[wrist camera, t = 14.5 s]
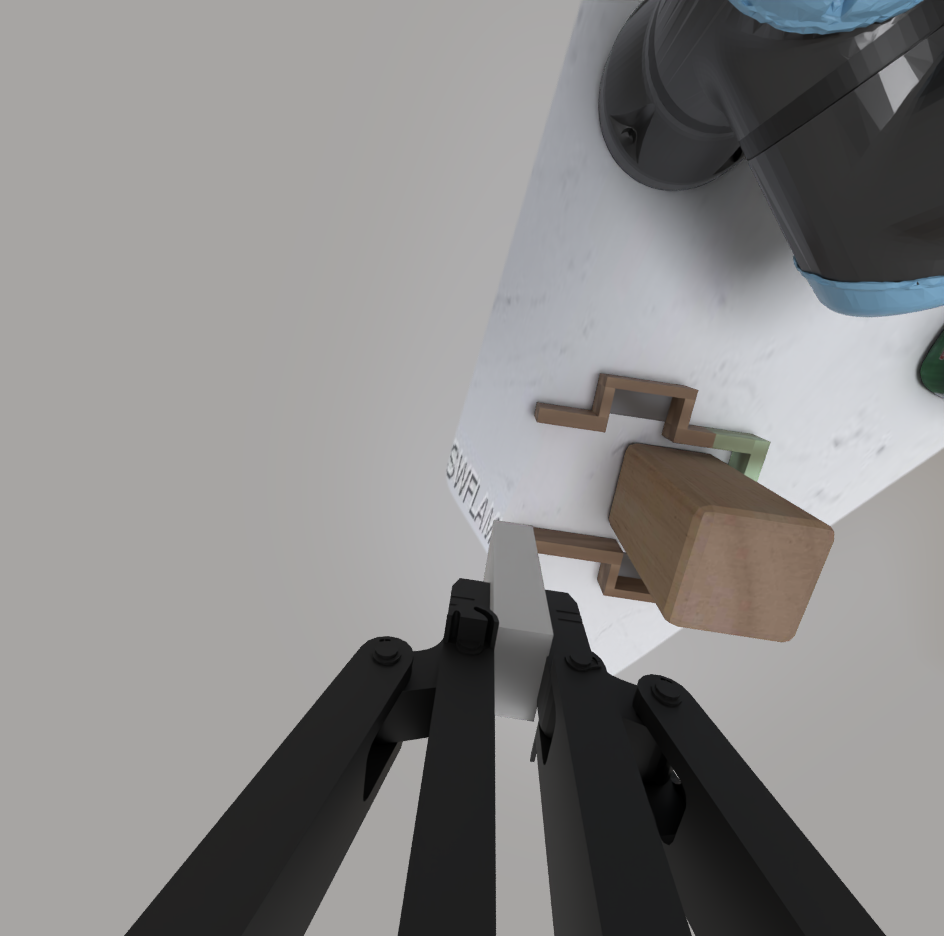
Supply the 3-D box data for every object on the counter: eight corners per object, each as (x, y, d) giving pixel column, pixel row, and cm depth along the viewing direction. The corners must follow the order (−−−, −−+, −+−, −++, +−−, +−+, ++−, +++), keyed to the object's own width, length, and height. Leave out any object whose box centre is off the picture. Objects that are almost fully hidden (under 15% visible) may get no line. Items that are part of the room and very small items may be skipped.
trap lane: (543, 364, 49) (547, 367, 46) (764, 397, 49) (784, 402, 46) (506, 565, 57) (507, 581, 53) (699, 594, 57) (712, 611, 53)
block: (715, 453, 51) (846, 529, 32) (690, 535, 54) (796, 650, 35) (625, 439, 51) (703, 507, 32) (604, 522, 54) (664, 630, 35)
